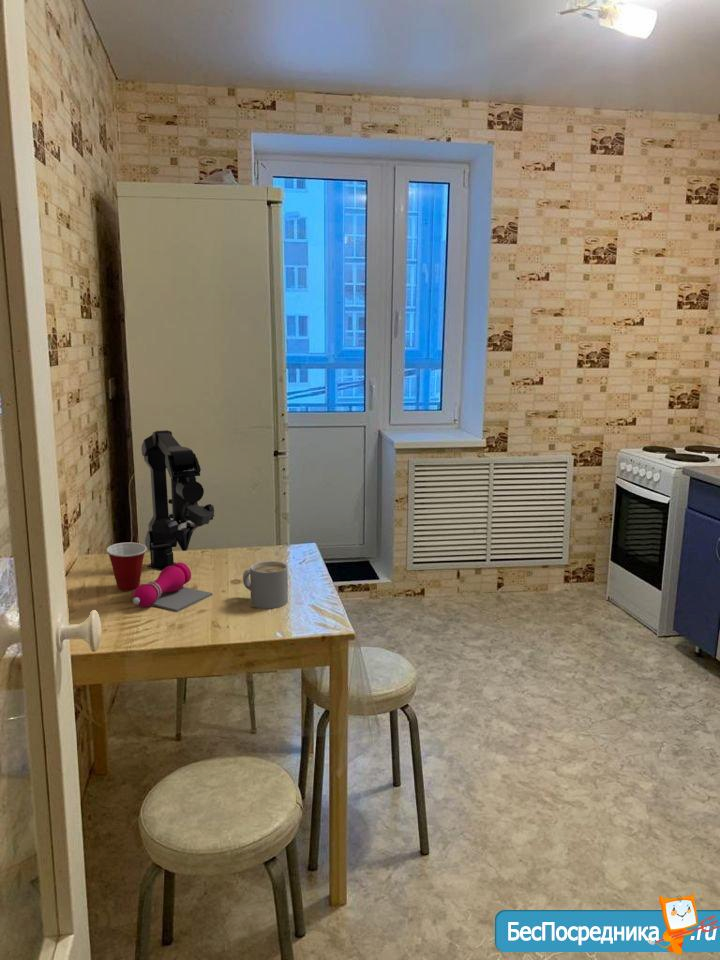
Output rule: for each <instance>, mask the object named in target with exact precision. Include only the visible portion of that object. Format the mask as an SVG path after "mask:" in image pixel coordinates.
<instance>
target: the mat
mask: <svg viewBox="0 0 720 960" xmlns="http://www.w3.org/2000/svg"><path fill="white" fill-rule="evenodd" d="M211 596H213V593H212V592H208V591H205V590H201V589H200V590H199V589H196V588H191V587H186V586H183V587H182V588H181V589H179V590H177V591H175V592H166V593H163V594H161V596H160V598H158V599H157V600H155V602H154V603H153V604H152V605H150V606H151V607H156V608H159V609H164V610H168V611H171V612H175V613H178V612H180V611H182V610H184V609H187V608H188V607H190V606H193V605H194V604H197V603H199V602H201V601H203V600H205V599H207V598H210V597H211ZM133 599H134V597H133V598H131V601H132V602H133Z"/></svg>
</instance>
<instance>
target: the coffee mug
mask: <svg viewBox="0 0 720 960" xmlns="http://www.w3.org/2000/svg"><path fill="white" fill-rule="evenodd" d="M288 573H289V572H288V565H287V564H286V563H284V562H282V561H278V560H277V561H276V560H265V561H263V560H262V561H258V562H256V563H253V564H251V565H250V568H247V569H246V570H244V571H243V574H242V582H243V585H244V587H245V588H246V589H247V590H248V591H250V603H251V606H253V607H255V608H257V609H264V610H265V609H266V610H269V609H271V610H272V609H278V608H281V607H284V606H286V605H287V604H288V603H289V602H288V601H289V599H288V598H289V594H288V593H289V587H288V586H289V585H288V584H289V582H288V579H289V578H288V577H289V576H288Z"/></svg>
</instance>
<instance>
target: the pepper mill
mask: <svg viewBox="0 0 720 960" xmlns="http://www.w3.org/2000/svg"><path fill="white" fill-rule="evenodd" d="M175 563H176V564H174V565H173V566H168V567H166V568H164V569H163V570H160V573H159V574H158V577H157V578H156V579H155V580H154V581H149V582H147V583H143V584H140V585H139V586H138V587H137V588H136V589H135V590H133V598H134V599H133V598H132V599H133V601H132V602H133V604H135V605H138V606H139V607H142V608H148V607H150V606H151V605H152V604H153V603H154V602H155V600H157V599H158V598H160V596H161V594H163V593H166V592H175V591H177V590H179V589H181V588H182V587H184V586H185V584H187V583H189V582H190V581H191V578H192V571H191V569H190V568H189V566H188V565H187V564H186V563H184V562H175Z"/></svg>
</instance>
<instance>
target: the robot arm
mask: <svg viewBox="0 0 720 960" xmlns="http://www.w3.org/2000/svg"><path fill="white" fill-rule="evenodd" d="M141 455H142V456H143V458H144V459H143V461H144V462H145V464H146V465H147V466H148V468H149V469H150V470H149V471H150V485H151V498H152V499H151V500H152V503H151V504H152V517H151V519H150V521H149V523H148V530H147V532H146V535H145V538H144V545H145V546H146V547H147V550H148V551H149V552H150V554H149V555H150V564H147V566H146V567H147V568H149V569H150V568H152V569H155V570H160V571H162V570H163V569H164V568H166V567H168V566H173V565H174V564H176V563H177V562H174V552H173V548H177V546H178V545H179V547H180V549H181V551H183V552H187V551H188V549H189V545H190V541H191V538H192V536H193V533H194V531H195V530H196V529H197V528H199V527H202V526H205V525H209V523H210V521H212V520H214V517H215V508H214V505H213V504H211V503H208V504H206V505H199V503H198V502H200V501H201V499H203V496H204V493H205V492H204V491H205V489H204V488H203V487H204V486H203V485H202V484H201V483H200V482H198V481H197V478H196V477H200V476H201V470H202V469H201V466H200V463H199V460H198V457H197V455H196V454H195V453H194V451H193V450H192V449H191V448H189V447H186V446H181V444H180V443H179V442H178V441H177V439H176V438H175V437H174V436H173V432H172V431H171V430H168V429H167V430H155V431H153V432H152V433H151V435H150V436H148V437H146V438H145V439H143V442H142V444H141ZM167 473H168V476H169V478H170V489H171V490H170V491H171V492H170V493H171V498H170V499H169V498H168V497H169V496H168V485H167V484H168V483H167ZM169 504H171V513H169ZM177 544H178V545H177Z"/></svg>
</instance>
